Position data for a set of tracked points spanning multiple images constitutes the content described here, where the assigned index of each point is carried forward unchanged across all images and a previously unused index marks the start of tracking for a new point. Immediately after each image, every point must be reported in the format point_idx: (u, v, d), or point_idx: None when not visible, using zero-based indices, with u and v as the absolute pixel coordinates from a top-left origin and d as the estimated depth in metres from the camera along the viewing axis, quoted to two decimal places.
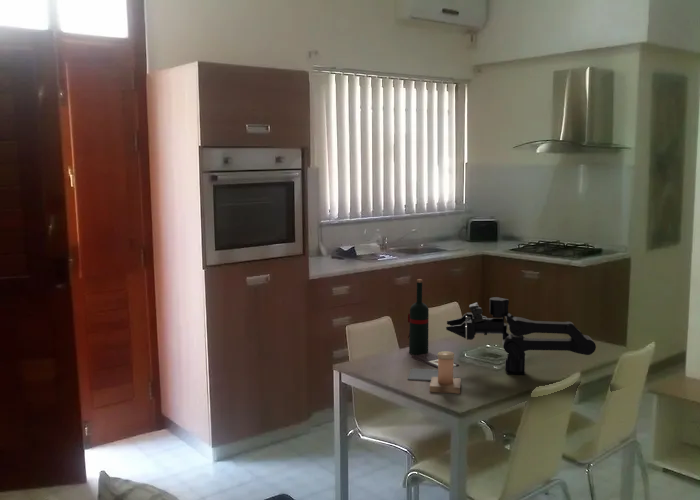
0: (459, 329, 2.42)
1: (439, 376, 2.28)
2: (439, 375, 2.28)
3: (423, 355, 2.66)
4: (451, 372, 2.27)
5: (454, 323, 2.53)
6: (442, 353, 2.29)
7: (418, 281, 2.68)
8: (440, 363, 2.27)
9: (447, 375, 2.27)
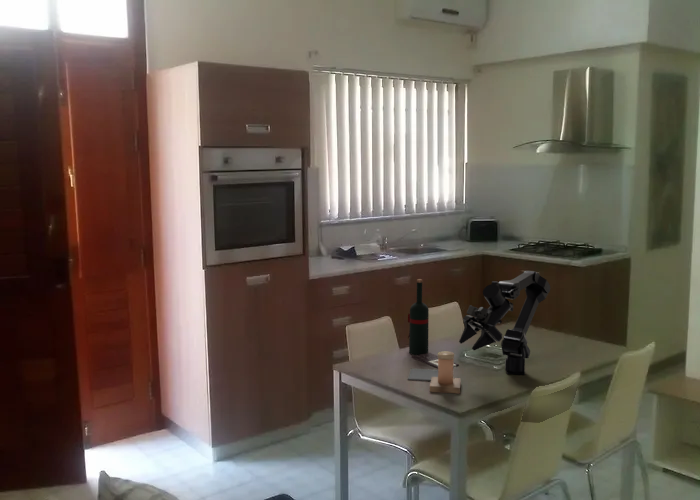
0: (483, 340, 2.27)
1: (439, 376, 2.28)
2: (439, 375, 2.28)
3: (423, 355, 2.66)
4: (451, 372, 2.27)
5: (465, 337, 2.36)
6: (442, 353, 2.29)
7: (418, 281, 2.68)
8: (440, 363, 2.27)
9: (447, 375, 2.27)
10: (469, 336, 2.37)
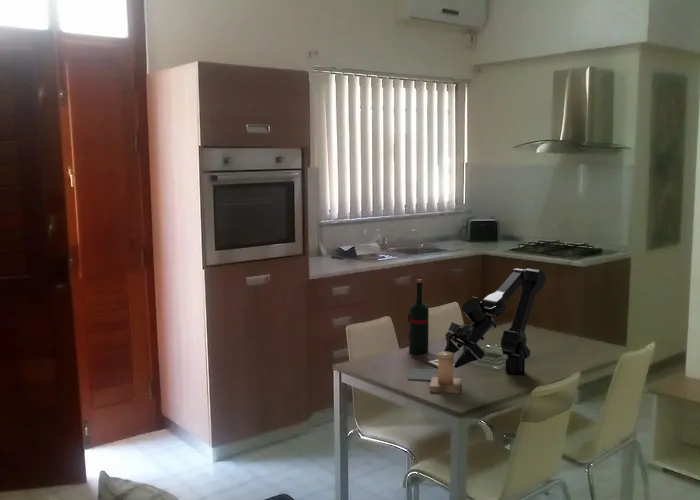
0: (466, 357, 2.25)
1: (439, 376, 2.28)
2: (439, 375, 2.28)
3: (423, 355, 2.66)
4: (451, 372, 2.27)
5: None
6: (442, 353, 2.29)
7: (418, 281, 2.68)
8: (440, 363, 2.27)
9: (447, 375, 2.27)
10: None
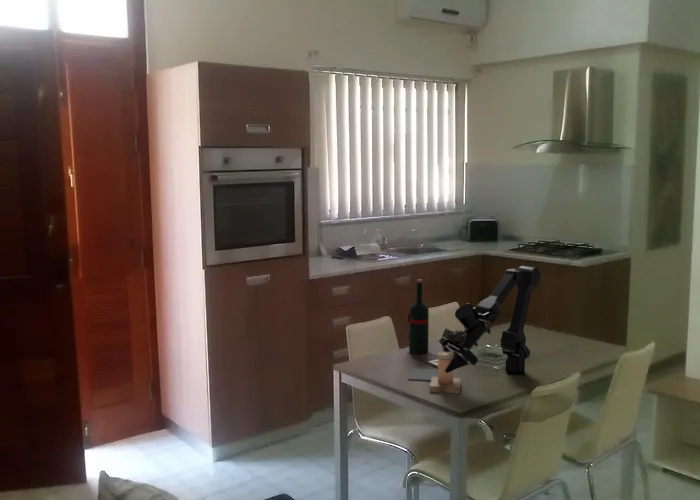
0: (456, 362, 2.26)
1: (439, 376, 2.28)
2: (439, 375, 2.28)
3: (423, 355, 2.67)
4: (451, 372, 2.27)
5: None
6: (442, 353, 2.29)
7: (418, 281, 2.68)
8: (440, 363, 2.27)
9: (447, 375, 2.27)
10: None
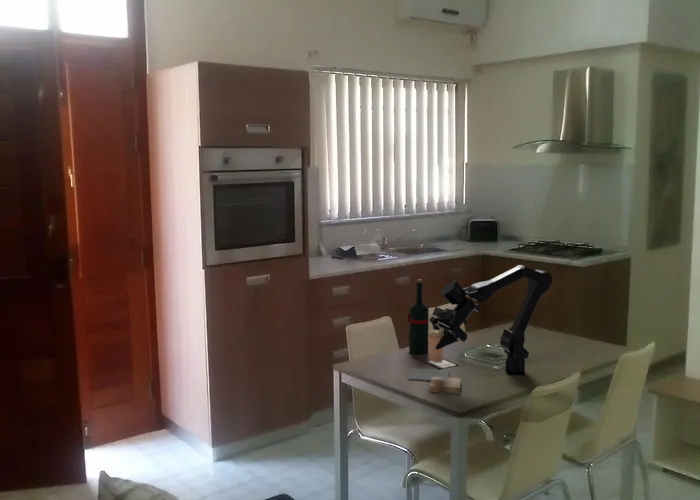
0: (446, 339, 2.33)
1: (430, 353, 2.35)
2: (430, 352, 2.35)
3: (423, 355, 2.67)
4: (441, 349, 2.34)
5: None
6: (432, 331, 2.35)
7: (418, 281, 2.68)
8: (431, 340, 2.34)
9: (437, 352, 2.34)
10: None
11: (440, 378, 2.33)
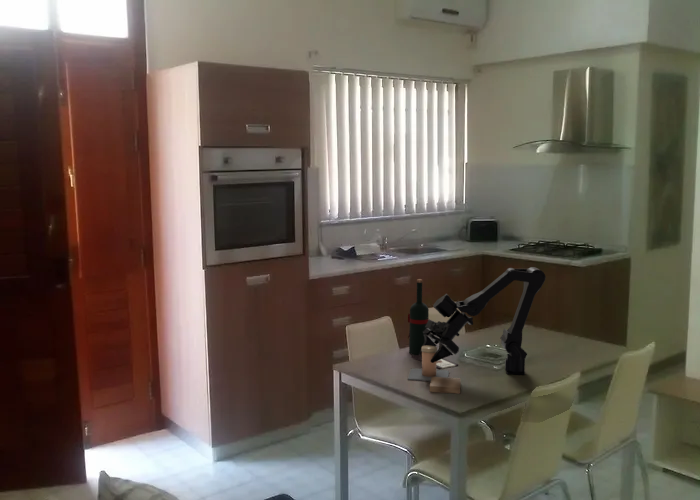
0: (441, 353, 2.37)
1: (423, 369, 2.41)
2: (423, 368, 2.41)
3: None
4: (434, 365, 2.40)
5: None
6: (426, 347, 2.42)
7: (418, 281, 2.68)
8: (424, 356, 2.40)
9: (430, 368, 2.40)
10: None
11: (440, 378, 2.33)
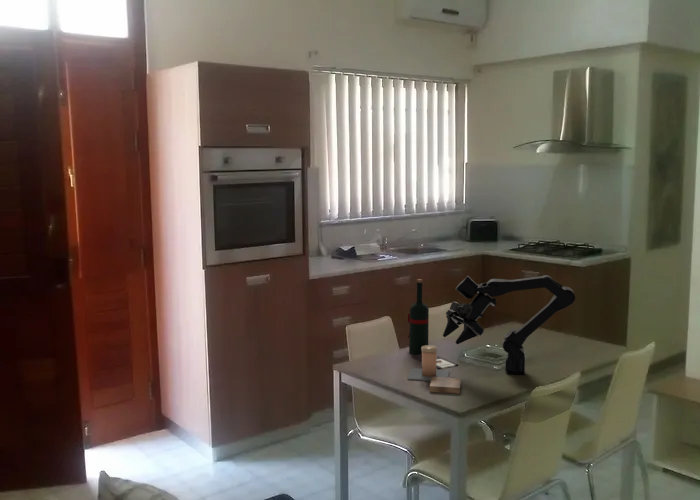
0: (466, 334, 2.39)
1: (423, 369, 2.41)
2: (423, 368, 2.41)
3: None
4: (434, 365, 2.40)
5: (448, 331, 2.49)
6: (425, 347, 2.42)
7: (418, 281, 2.68)
8: (424, 356, 2.40)
9: (430, 368, 2.40)
10: (452, 330, 2.49)
11: (440, 378, 2.33)
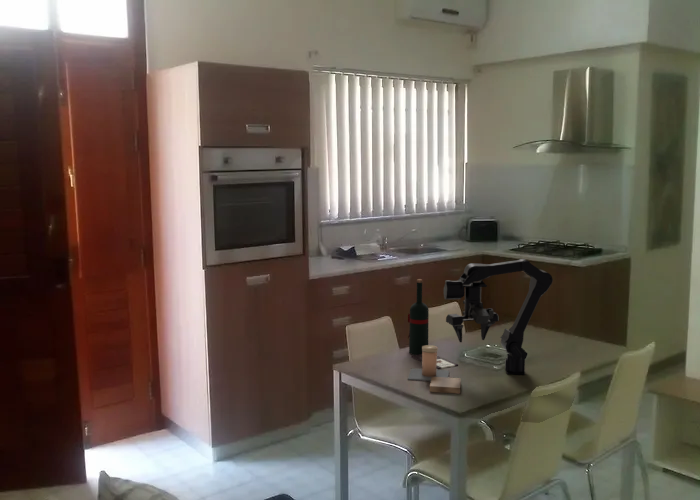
0: None
1: (423, 368, 2.41)
2: (423, 367, 2.41)
3: None
4: (434, 365, 2.41)
5: None
6: (426, 347, 2.42)
7: (418, 281, 2.68)
8: (424, 356, 2.40)
9: (430, 368, 2.40)
10: None
11: (440, 378, 2.33)
